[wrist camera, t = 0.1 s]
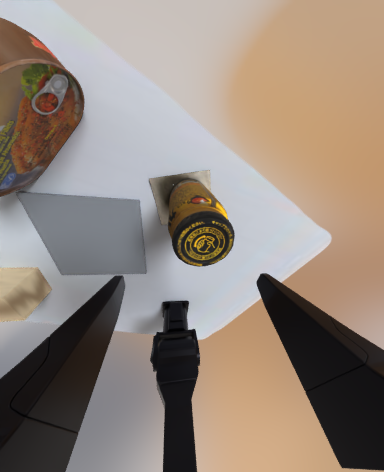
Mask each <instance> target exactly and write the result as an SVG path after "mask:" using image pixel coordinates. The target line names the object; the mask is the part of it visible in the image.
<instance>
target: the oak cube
mask: <svg viewBox="0 0 384 472" xmlns="http://www.w3.org/2000/svg"><path fill="white" fill-rule="evenodd" d="M51 290H52V288H51V287H50V285H49V284H48V282H47V281H46V279H45V278H44V276H43V275H42V273H41V272H40V270H39V269H38V267H36V268H0V322H4V321H20V320H26V319H27V317H28V316H29V315H30V314H31V313H32V312H33V311H34V309H35V308H36V307H37V306H38V305H39V304H40V303H41V301H42V300H43V299H44V298H45V297H46V296H47V295H48V293H49V292H50V291H51Z"/></svg>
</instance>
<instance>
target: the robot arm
mask: <svg viewBox="0 0 384 472" xmlns="http://www.w3.org/2000/svg"><path fill="white" fill-rule="evenodd" d="M257 287H258V289H259V292H260V295H261V297H262V300H263V303H264V305H265V308H266V310H267V312H268V314H269V316H270V318H271V320H272V322H273V325H274V327H275V329H276V331H277V333H278V335H279V337H280V340H281V342H282V344H283V346H284V348H285V350H286V352H287V354H288V356H289V358H290V361H291V363H292V365H293V367H294V369H295V371H296V373H297V375H298V377H299V379H300V382H301V384H302V386H303V388H304V390H305V391H306V395H307V397H308V399H309V400H310V403H311V405H312V407H313V409H314V411H315V413H316V416H317V418H318V420H319V422H320V424H321V426H322V428H323V430H324V433H325V435H326V437H327V439H328V441H329V443H330V445H331V447H332V449H333V452H334V454H335V456H336V458H337V460H338V462H339V464H340V465H341V467H342V468H350V469H367V470H384V350H383V349H381V348H379V347H378V346H376V345H375V344H373V343H371V342H370V341H368V340H367V339H365V338H363V337H361V336H360V335H359V334H357V333H355V332H354V331H352V330H351V329H349V328H348V327H346V326H345V325H343V324H341V323H340V322H338V321H337V320H335V319H334V318H332V317H331V316H329V315H328V314H327V313H325V312H323V311H322V310H321V309H319V308H318V307H316V306H314V305H313V304H312V303H310V302H309V301H307V300H306V299H304V298H303V297H301V296H300V295H298V294H297V293H295V292H294V291H292V290H291V289H290V288H288V287H286V286H285V285H283V284H282V283H281V282H279V281H278V280H276V279H275V278H273V277H272V276H270V275H269V274H266V273H264V274H260V276H259V278H258V280H257ZM124 290H125V282H124V277H123V276H114V277H113V278H112V279H111V280H110V281H109V282H108V283H107V284H106V285H104V286H103V287H102V288H101V289H100V290H99V291H98V292H97V293H96V294H95V295H94V296H92V297H91V298H90V299H89V300H88V301H87V302H86V303H85V304H84V305H83V306H81V307H80V308H79V309H78V310H77V311H76V312H75V313H74V314H73V315H72V316H71V317H69V318H68V319H67V320H66V321H65V322H64V323H63V324H62V325H61V326H60V327H59V328H58V329H56V330H55V331H54V332H53V333H52V334H51V335H50V337H48V338H46V339H45V340H44V341H43V342H42V343H41V344H40V345H39V346H38V347H37V348H35V349H34V350H33V351H32V352H31V353H30V354H29V355H28V356H26V357H25V358H24V359H23V360H22V361H21V362H20V363H18V364H17V365H16V366H15V367H14V368H12V369H11V370H10V371H9V372H8V373H7V374H5V375H4V376H3V377H2V378H1V379H0V472H65V471H66V468H67V465H68V463H69V460H70V456H71V454H72V451H73V448H74V445H75V442H76V439H77V436H78V432H79V430H80V427H81V424H82V421H83V418H84V415H85V412H86V410H87V407H88V404H89V401H90V398H91V395H92V392H93V389H94V386H95V383H96V380H97V377H98V375H99V372H100V369H101V366H102V363H103V360H104V357H105V354H106V351H107V348H108V345H109V343H110V340H111V337H112V334H113V331H114V328H115V325H116V322H117V319H118V316H119V312H120V308H121V304H122V299H123V295H124ZM188 305H189V301H175V302H163V318H164V326H163V332H157V334H156V335H155V336H154V339H153V348H152V353H151V358H150V361H151V363H152V364H153V371H154V372H156V371H157V374H156V380H157V389H158V392H159V395H160V397H161V400H162V403H163V405H164V408H165V422H164V455H163V472H197V466H196V454H195V442H194V441H195V440H194V429H193V416H192V402H191V398H192V395H193V391H194V388H195V384H196V380H197V377H198V366H199V365H200V353H199V346H198V341H197V336H196V331H195V329H193V330H188V322H187V312H188Z"/></svg>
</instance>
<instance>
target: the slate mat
mask: <svg viewBox="0 0 384 472" xmlns="http://www.w3.org/2000/svg"><path fill="white" fill-rule="evenodd" d="M16 194H17V196H18V198H19V200H20V202H21V203H22V205H23V207H24V209H25V210H26V212H27V214H28V216H29V218H30V219H31V221H32V223H33V225H34V227H35V228H36V230H37V232H38V234H39V235H40V237H41V239H42V241H43V243H44V244H45V246H46V248H47V250H48V252H49V253H50V255H51V257H52V259H53V260H54V262H55V264H56V266H57V268H58V269H59V271H60V273H61V275H93V274H146V263H145V253H144V242H143V232H142V221H141V210H140V200H132V199H117V198H102V197H87V196H72V195H57V194H42V193H27V192H16Z"/></svg>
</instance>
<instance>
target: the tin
mask: <svg viewBox="0 0 384 472" xmlns="http://www.w3.org/2000/svg"><path fill="white" fill-rule="evenodd" d="M83 110H84V95H83V91H82V88H81V86H80V84H79V82H78V81H77V80H76V78H75V77H74V76H73V75H72V74H71V73H70V72H69V71H68V70H66V69H65V67H64V66H63V65H62V64H61V63H60V62H59V60H58V59H57V58H56V57H55V56H54V55H53V53H52V52H51V51H50V50H49V49H48V48H47V47H46V46H45V45H44V44H43V43H42V42H41V41H40V40H39V39H37V38H36V37H35V36H34V35H32V34H31V33H29V32H28V31H26V30H24V29H23V28H21V27H19V26H17V25H16V24H14V23H12V22H10V21H7V20H5V19H3V18H0V197H1V196H4V195H7V194H10V193H12V192H14V191H17V190H19V189H21V188H23V187H25V186H27V185H28V184H30V183H32V182H33V181H34V180H36V179H37V178H38V177H39V176H40V175H41V174H42V173H43V172H44V171H45V169H46V168H47V167H48V165H49V164H50V162H51V161H52V160H53V158H54V157H55V155H56V154H57V153H58V151H59V150H60V148H61V147H62V146H63V144H64V143H65V142H66V140H67V139H68V137H69V136H70V135H71V133H72V132H73V131H74V129H75V128H76V126H77V125H78V123H79V122H80V119H81V117H82V114H83Z"/></svg>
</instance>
